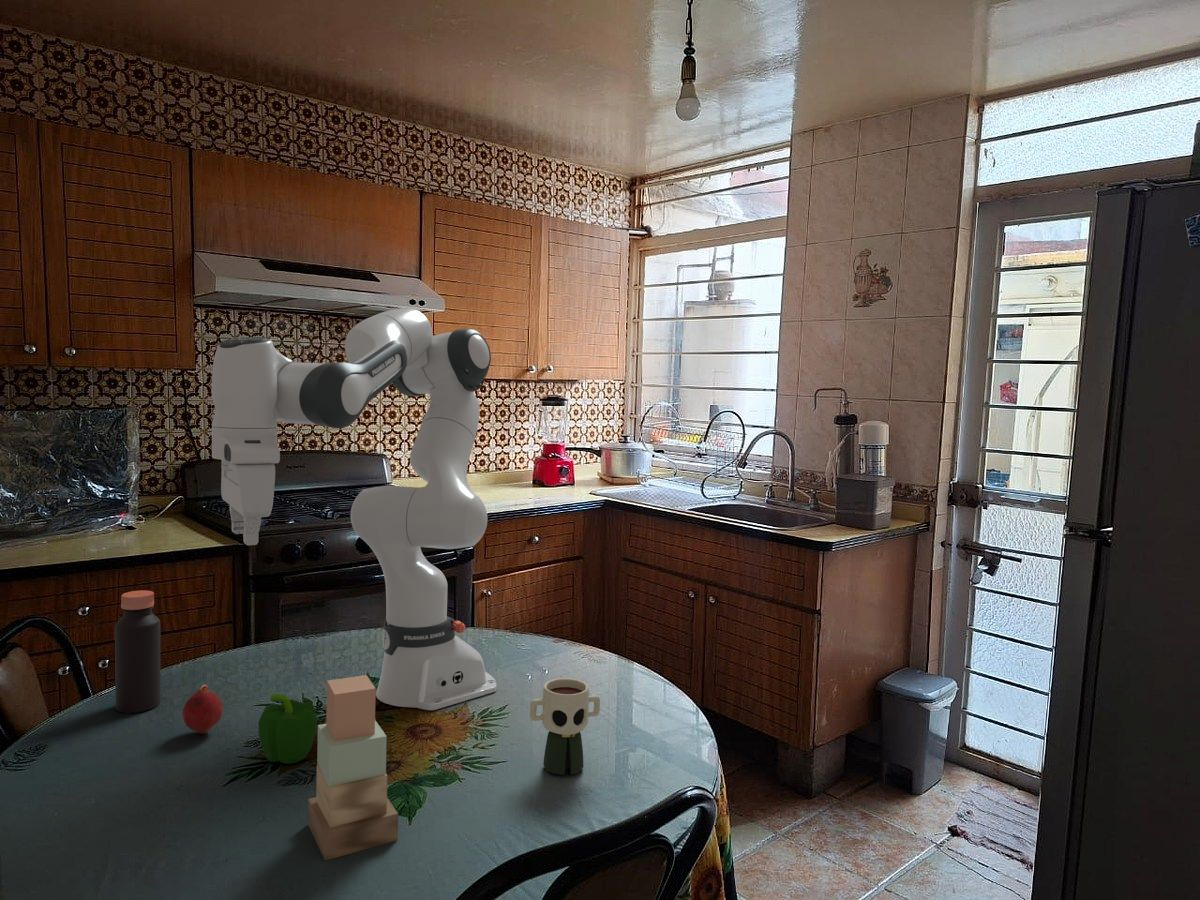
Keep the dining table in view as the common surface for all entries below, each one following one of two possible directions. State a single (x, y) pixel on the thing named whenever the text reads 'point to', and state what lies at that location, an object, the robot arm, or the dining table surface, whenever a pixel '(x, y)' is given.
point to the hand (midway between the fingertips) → (244, 538)
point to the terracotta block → (350, 707)
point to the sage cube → (351, 756)
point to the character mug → (564, 722)
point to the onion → (202, 710)
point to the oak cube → (351, 799)
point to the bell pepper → (287, 730)
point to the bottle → (137, 654)
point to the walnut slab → (352, 832)
